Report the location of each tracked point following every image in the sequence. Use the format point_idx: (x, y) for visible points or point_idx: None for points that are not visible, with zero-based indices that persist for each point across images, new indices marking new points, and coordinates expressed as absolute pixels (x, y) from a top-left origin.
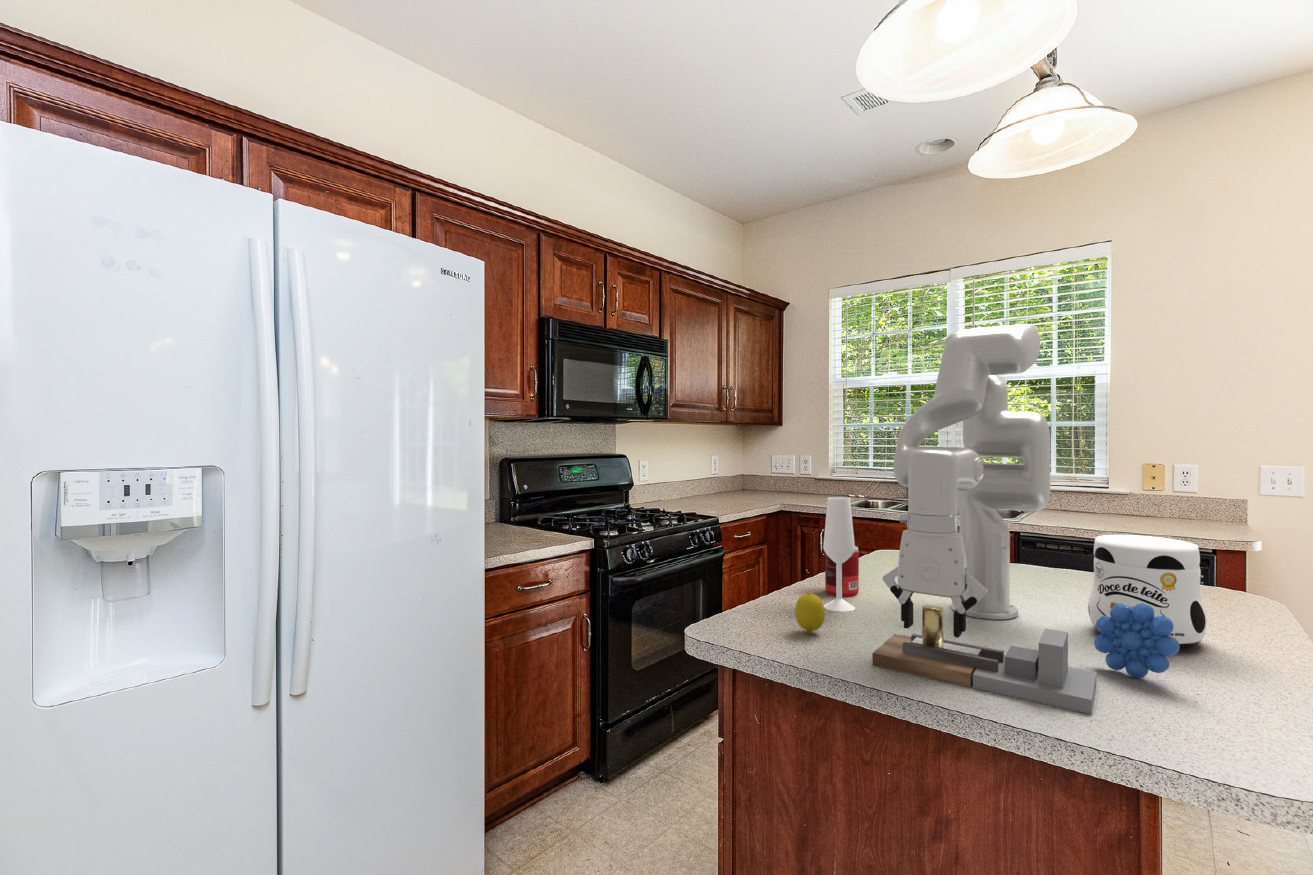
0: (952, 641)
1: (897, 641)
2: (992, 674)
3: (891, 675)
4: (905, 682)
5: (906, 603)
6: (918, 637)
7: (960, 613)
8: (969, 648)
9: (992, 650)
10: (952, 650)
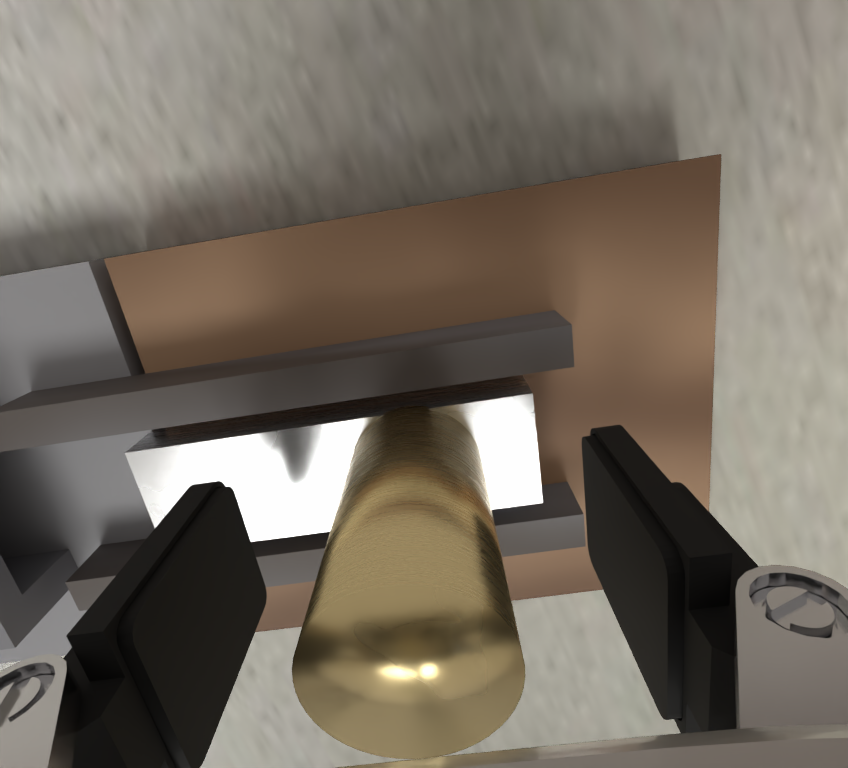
0: None
1: None
2: (26, 343)
3: (525, 83)
4: (416, 34)
5: (716, 613)
6: (535, 517)
7: (50, 655)
8: None
9: None
10: (270, 431)
